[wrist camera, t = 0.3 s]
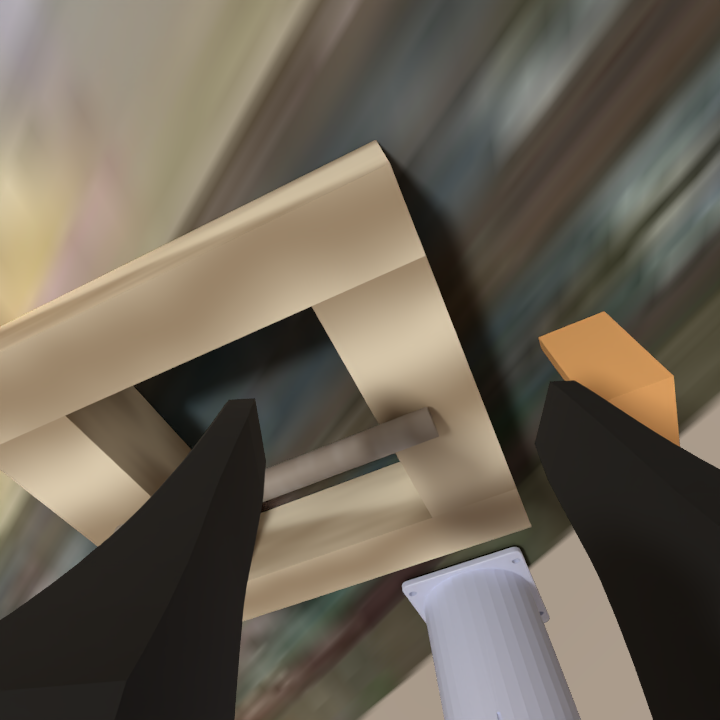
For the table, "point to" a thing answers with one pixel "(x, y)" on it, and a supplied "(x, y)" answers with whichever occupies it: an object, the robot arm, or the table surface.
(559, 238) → the table surface
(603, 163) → the table surface
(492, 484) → the rectangular frame
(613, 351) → the bracket
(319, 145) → the table surface
